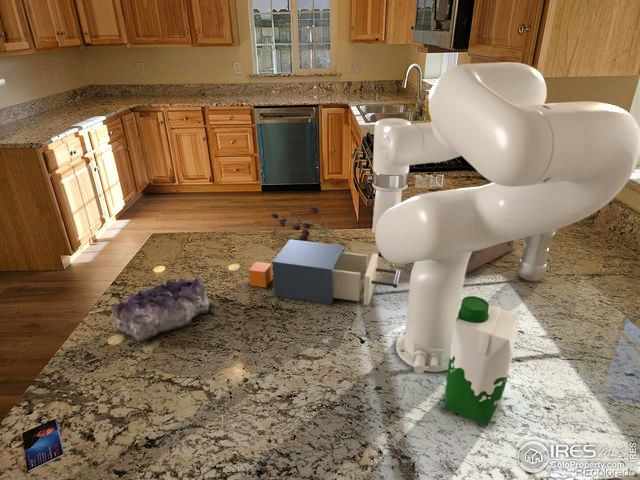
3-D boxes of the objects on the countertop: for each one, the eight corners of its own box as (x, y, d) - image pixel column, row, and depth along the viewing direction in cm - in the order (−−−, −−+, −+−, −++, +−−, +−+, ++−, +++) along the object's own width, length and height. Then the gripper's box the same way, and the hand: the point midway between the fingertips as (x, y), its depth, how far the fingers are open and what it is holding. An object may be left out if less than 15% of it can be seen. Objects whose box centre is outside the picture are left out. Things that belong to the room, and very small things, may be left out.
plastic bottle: (546, 285, 107) (565, 212, 99) (518, 283, 109) (534, 210, 100) (540, 272, 113) (557, 202, 104) (513, 270, 114) (528, 200, 106)
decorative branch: (267, 202, 144) (339, 202, 126) (281, 219, 150) (352, 221, 132) (251, 228, 139) (325, 232, 121) (266, 244, 145) (338, 251, 127)
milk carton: (452, 378, 79) (467, 286, 70) (503, 397, 74) (526, 301, 66) (437, 410, 72) (451, 312, 63) (492, 433, 68) (516, 332, 59)
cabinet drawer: (400, 284, 107) (402, 256, 103) (395, 309, 97) (397, 280, 94) (325, 274, 112) (325, 247, 108) (313, 297, 102) (312, 269, 99)
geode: (196, 293, 106) (194, 259, 101) (218, 319, 99) (218, 284, 94) (110, 323, 94) (103, 286, 89) (128, 355, 86) (122, 317, 81)
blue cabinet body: (343, 278, 112) (344, 245, 107) (331, 304, 101) (332, 269, 96) (291, 271, 115) (290, 239, 111) (274, 295, 104) (272, 261, 100)
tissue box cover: (457, 277, 111) (462, 243, 107) (415, 257, 122) (418, 225, 117) (511, 249, 125) (518, 218, 121) (470, 233, 136) (474, 204, 131)
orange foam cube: (266, 287, 108) (264, 272, 106) (249, 285, 109) (248, 269, 107) (272, 278, 112) (271, 263, 110) (256, 276, 113) (255, 261, 111)
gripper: (378, 169, 98) (375, 241, 105) (366, 188, 85) (363, 269, 92) (411, 170, 96) (405, 244, 103) (404, 191, 83) (398, 273, 90)
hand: (386, 255), depth 98 cm, fingers closed
